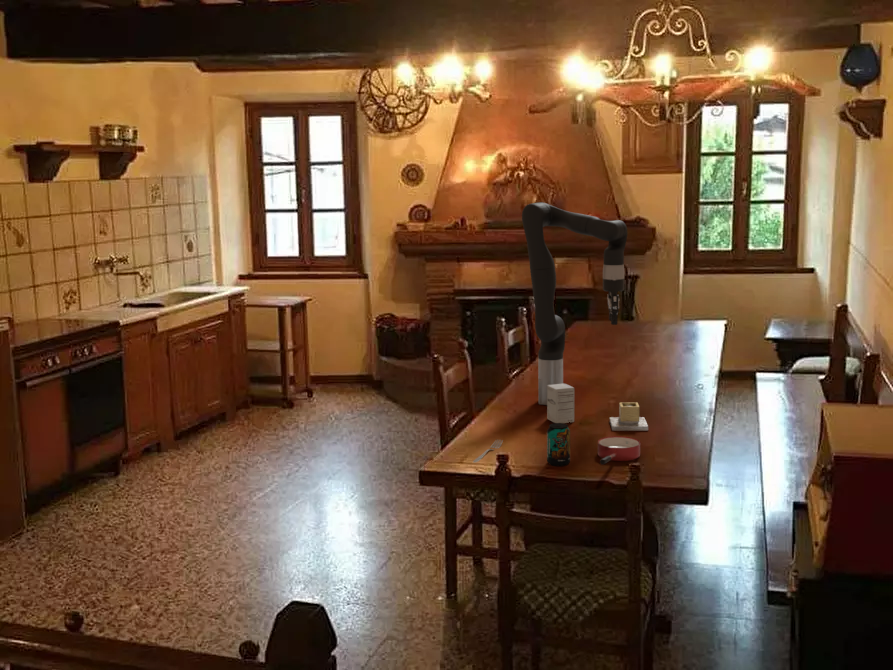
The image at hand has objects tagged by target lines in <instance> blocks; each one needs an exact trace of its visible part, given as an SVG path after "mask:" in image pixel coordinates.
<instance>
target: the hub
mask: <svg viewBox="0 0 893 670" xmlns="http://www.w3.org/2000/svg"><path fill="white" fill-rule="evenodd" d="M626 405H631V406H626ZM618 410H619V411H618V413H619V415H618V417H620V420H621V421H639V417H640V405H639V403H638V402H619V408H618Z"/></svg>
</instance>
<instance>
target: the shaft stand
mask: <svg viewBox="0 0 893 670" xmlns="http://www.w3.org/2000/svg"><path fill="white" fill-rule="evenodd" d="M626 406H631V405H626ZM609 424H610V427H611V431H612V432H614V431H617V432H620V431H622V432H623V431H624V432H629V431H633V432H634V431H635V432H636V431H638V432H640V431H642V432H643V431H645V432H646V431H649V424H648V423H647V420H646V419H645V417H644V416H642V417H641V416H639V421H621V420H620V417H619V416H617V417H616V416H615V417H614V416H611V417H609Z"/></svg>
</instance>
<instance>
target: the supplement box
mask: <svg viewBox="0 0 893 670" xmlns="http://www.w3.org/2000/svg"><path fill="white" fill-rule="evenodd" d="M546 407H547V409H546V413H547V414H546V417H547V418H546V419H547V420H549V422H550V421H551V422H552V423H563V424H567V423H569V422H570V423H574V422H575V387H573V386H571V385H569V384H567V383H564V382H563V383H562V384H553V385H547V405H546Z"/></svg>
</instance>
